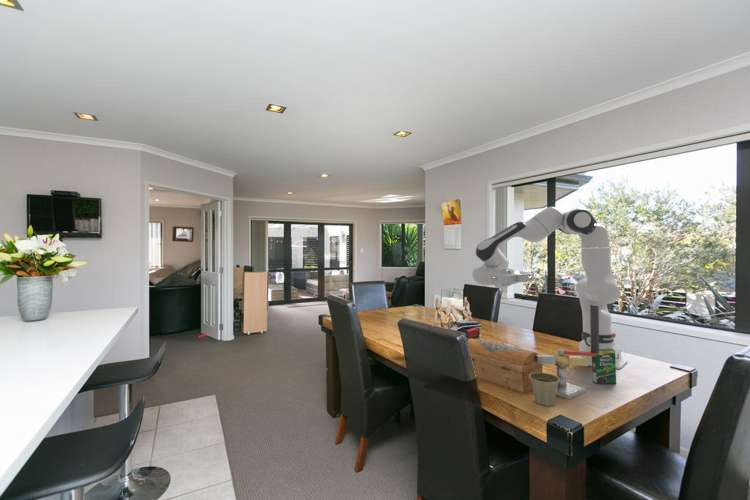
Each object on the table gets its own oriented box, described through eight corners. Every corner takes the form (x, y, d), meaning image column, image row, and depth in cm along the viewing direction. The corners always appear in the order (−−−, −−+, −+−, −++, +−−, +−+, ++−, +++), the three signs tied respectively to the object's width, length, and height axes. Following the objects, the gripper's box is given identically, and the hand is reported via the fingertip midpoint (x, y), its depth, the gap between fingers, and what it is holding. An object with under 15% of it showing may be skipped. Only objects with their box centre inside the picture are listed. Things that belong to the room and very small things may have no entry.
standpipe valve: (554, 381, 140) (553, 348, 140) (591, 392, 128) (590, 356, 128) (533, 388, 132) (532, 353, 132) (570, 401, 121) (570, 363, 121)
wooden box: (545, 384, 137) (544, 348, 137) (523, 395, 127) (522, 356, 127) (479, 365, 161) (479, 335, 161) (456, 373, 150) (456, 340, 151)
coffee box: (596, 384, 136) (595, 350, 136) (591, 381, 139) (591, 348, 139) (616, 384, 136) (616, 350, 136) (611, 381, 139) (611, 348, 139)
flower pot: (551, 411, 114) (550, 384, 114) (523, 401, 121) (523, 376, 121) (565, 403, 119) (565, 378, 119) (538, 394, 127) (538, 370, 127)
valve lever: (558, 355, 129) (557, 304, 129) (556, 353, 132) (556, 303, 132) (600, 358, 125) (599, 306, 125) (598, 355, 128) (597, 305, 128)
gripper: (488, 271, 155) (515, 272, 143) (516, 269, 166) (544, 270, 155) (488, 285, 155) (515, 287, 143) (517, 282, 166) (544, 284, 155)
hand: (530, 278), depth 149 cm, fingers closed
